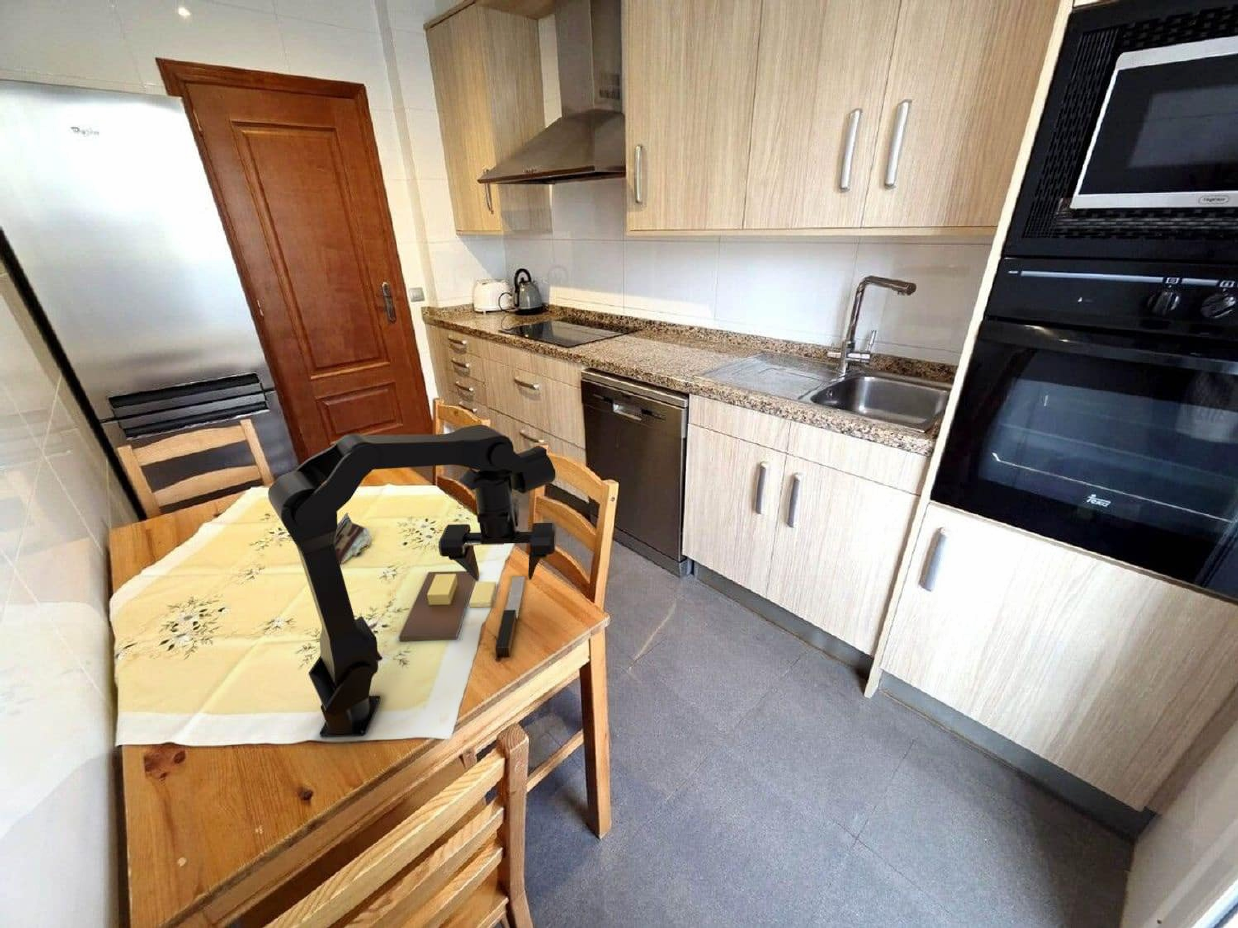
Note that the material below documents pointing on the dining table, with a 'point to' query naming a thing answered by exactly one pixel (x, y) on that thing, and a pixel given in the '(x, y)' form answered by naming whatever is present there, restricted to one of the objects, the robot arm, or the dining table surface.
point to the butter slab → (482, 594)
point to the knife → (509, 618)
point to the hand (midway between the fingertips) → (504, 578)
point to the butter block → (442, 589)
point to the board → (438, 611)
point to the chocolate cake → (350, 539)
